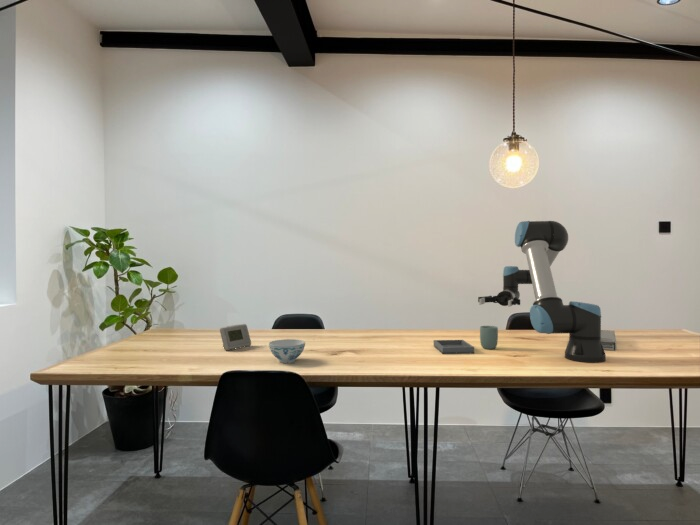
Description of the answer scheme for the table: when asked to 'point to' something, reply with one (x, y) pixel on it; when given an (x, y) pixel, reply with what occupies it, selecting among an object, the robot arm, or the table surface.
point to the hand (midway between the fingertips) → (494, 302)
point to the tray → (453, 347)
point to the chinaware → (287, 349)
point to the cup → (488, 336)
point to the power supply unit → (608, 340)
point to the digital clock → (235, 336)
